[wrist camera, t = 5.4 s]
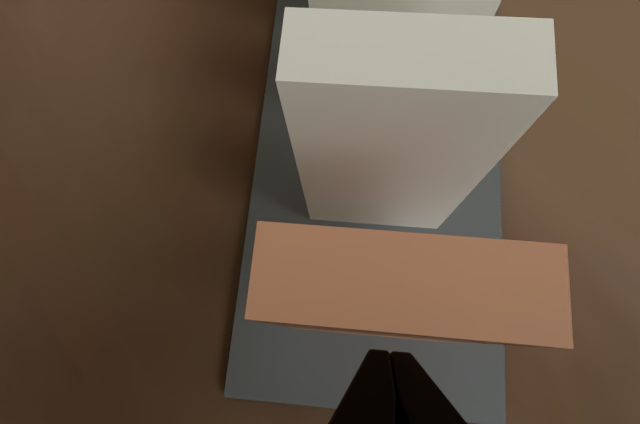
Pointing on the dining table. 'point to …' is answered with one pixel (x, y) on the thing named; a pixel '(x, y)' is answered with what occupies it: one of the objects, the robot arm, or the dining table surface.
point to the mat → (344, 348)
